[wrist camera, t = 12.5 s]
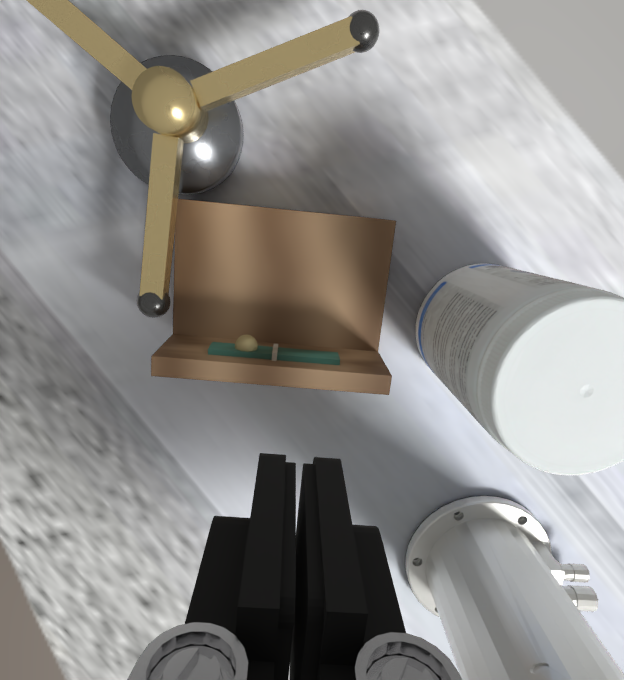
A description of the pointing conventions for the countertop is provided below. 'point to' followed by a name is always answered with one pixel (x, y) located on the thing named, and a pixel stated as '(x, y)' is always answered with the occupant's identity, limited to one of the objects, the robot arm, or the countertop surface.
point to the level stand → (278, 298)
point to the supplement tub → (531, 363)
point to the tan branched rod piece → (191, 118)
